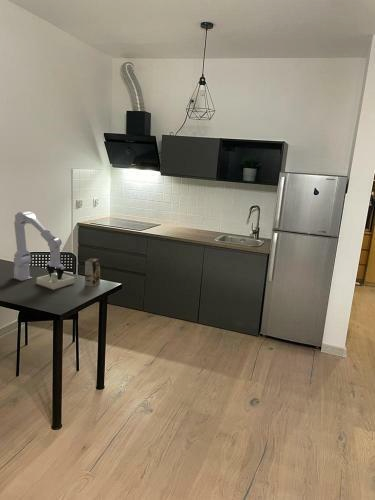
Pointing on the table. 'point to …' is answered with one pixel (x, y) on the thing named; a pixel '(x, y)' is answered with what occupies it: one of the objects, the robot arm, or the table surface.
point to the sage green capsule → (54, 278)
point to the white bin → (47, 282)
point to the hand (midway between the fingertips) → (55, 278)
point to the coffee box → (92, 272)
